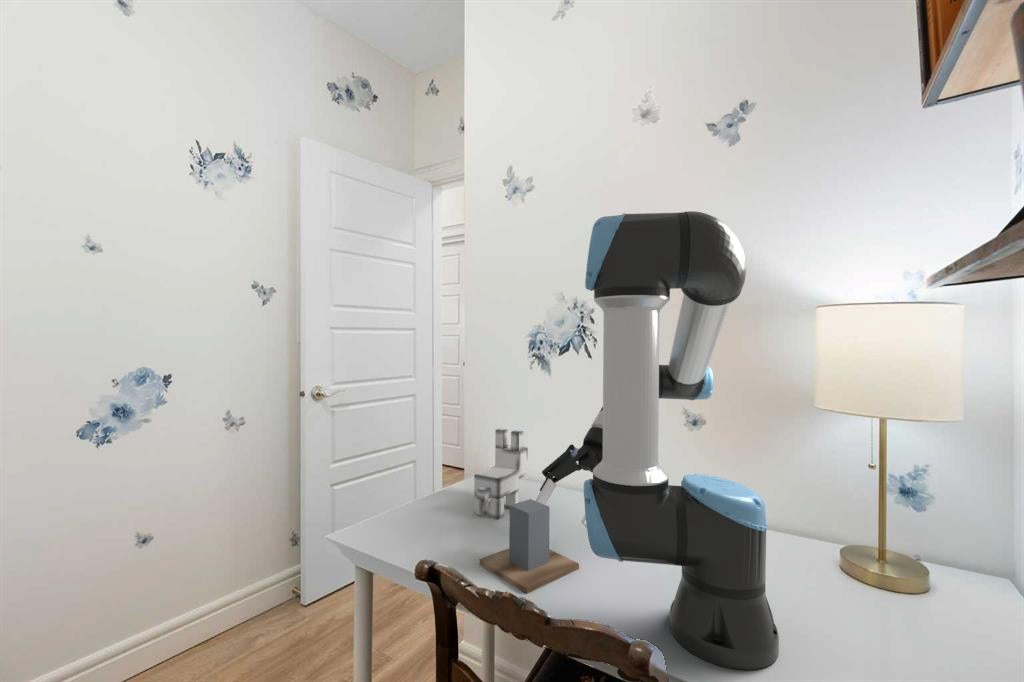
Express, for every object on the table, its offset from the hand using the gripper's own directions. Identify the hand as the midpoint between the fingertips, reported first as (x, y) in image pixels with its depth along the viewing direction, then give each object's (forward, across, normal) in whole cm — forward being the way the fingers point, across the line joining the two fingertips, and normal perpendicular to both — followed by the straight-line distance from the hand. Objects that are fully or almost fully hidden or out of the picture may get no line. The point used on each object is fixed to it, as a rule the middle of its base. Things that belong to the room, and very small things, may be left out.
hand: (560, 516), depth 97 cm
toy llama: (+1, +28, -10) cm, 30 cm away
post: (+12, 0, +1) cm, 12 cm away
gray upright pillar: (+11, 0, +2) cm, 11 cm away
